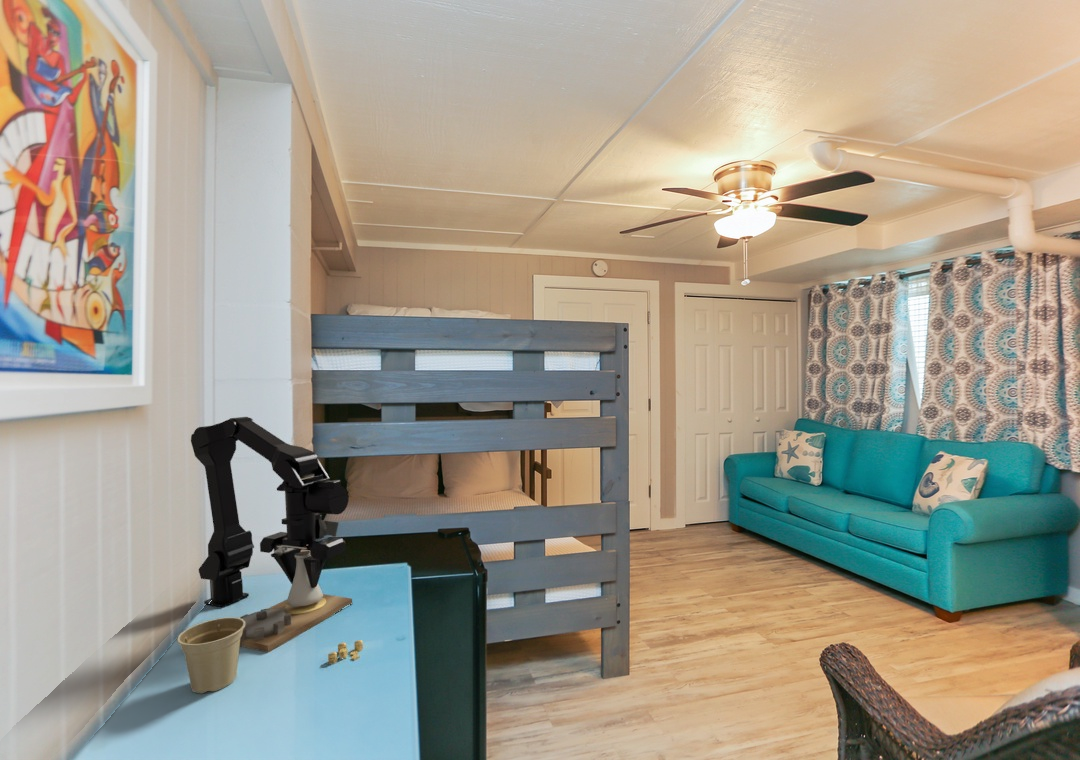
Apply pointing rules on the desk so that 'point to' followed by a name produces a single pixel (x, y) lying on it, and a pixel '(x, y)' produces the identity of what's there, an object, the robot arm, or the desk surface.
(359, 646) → the dice set
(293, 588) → the flask
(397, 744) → the desk surface
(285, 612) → the gear board
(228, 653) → the flower pot
